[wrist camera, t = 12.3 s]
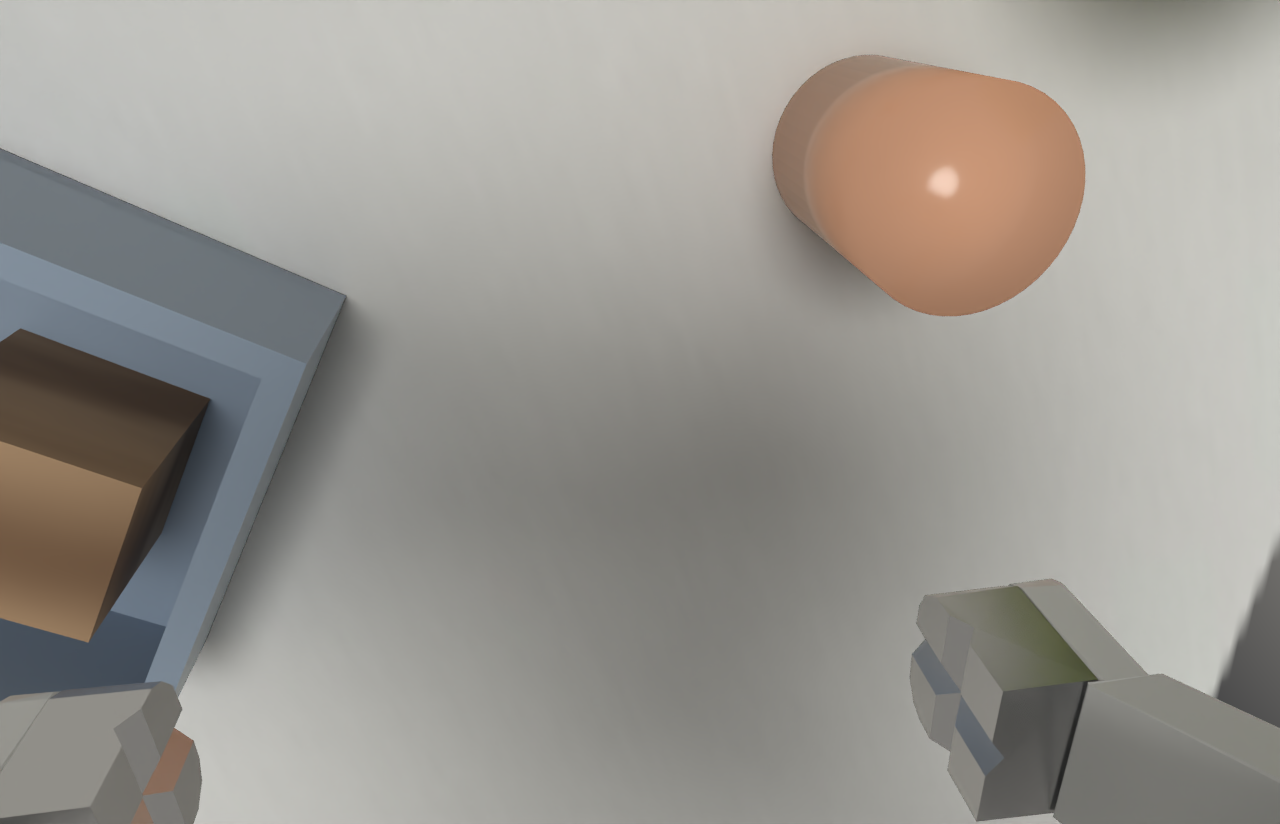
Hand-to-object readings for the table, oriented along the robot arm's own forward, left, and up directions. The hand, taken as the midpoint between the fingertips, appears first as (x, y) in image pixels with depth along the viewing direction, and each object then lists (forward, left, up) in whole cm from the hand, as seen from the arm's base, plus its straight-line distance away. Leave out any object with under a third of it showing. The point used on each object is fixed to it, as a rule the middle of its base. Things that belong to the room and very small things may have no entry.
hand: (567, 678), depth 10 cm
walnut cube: (+9, +10, -17) cm, 22 cm away
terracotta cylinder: (-7, -7, -17) cm, 20 cm away
